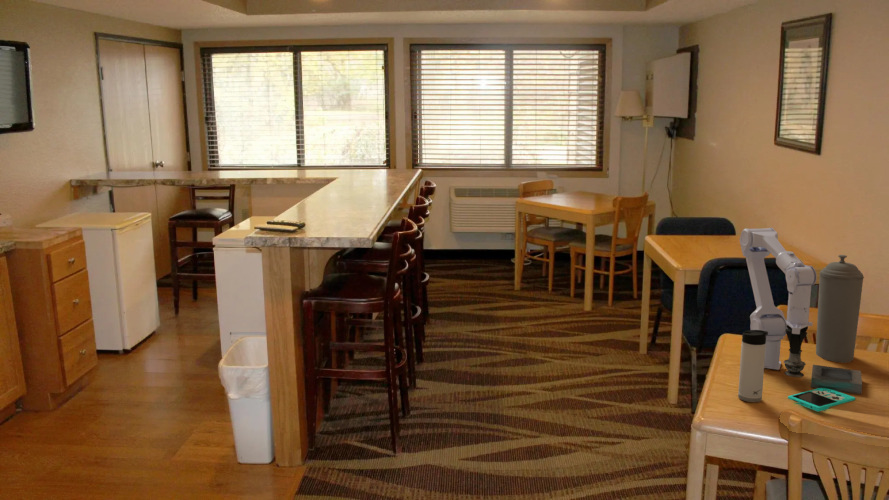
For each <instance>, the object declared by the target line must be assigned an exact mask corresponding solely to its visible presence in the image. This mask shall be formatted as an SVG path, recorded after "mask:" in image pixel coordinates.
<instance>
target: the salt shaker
mask: <svg viewBox="0 0 889 500" xmlns="http://www.w3.org/2000/svg"><path fill="white" fill-rule="evenodd" d="M788 351H789V356H788V359H785V360H783V363H784V366H785V369H786V371H784V375H785V376H788V377H793V378H802V377H805V374H804V373H803V372H802V371H804V368H805V366H806V362H805V361H803V360H802V358H801V356H802V352H803V350H802V347H801V348H800V352H799V354H792V353H791V352H790V348H788Z"/></svg>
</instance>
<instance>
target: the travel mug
mask: <svg viewBox="0 0 889 500" xmlns="http://www.w3.org/2000/svg"><path fill="white" fill-rule="evenodd" d="M766 335H768V331H762V330H751V329H749V330H744V332H742V335H741V336H742V337H741V346H740V347H741V348H740V362H739V377H738V379H739V380H738V392H737V393H738V394H737V397H738V399H740V400H741V401H744V402H748V403H749V402H750V403H758V402H761V401H763V392H764V391H763V388H764V378H765V377H764V375H765V368H764V363H765V349H766Z"/></svg>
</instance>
